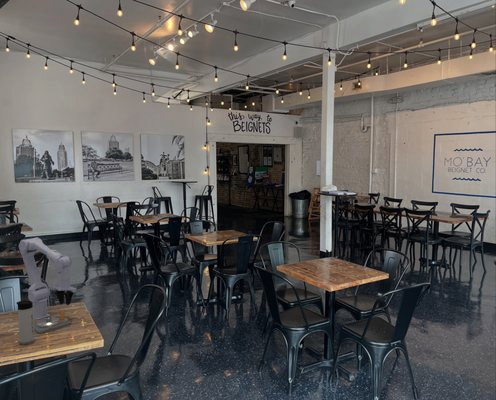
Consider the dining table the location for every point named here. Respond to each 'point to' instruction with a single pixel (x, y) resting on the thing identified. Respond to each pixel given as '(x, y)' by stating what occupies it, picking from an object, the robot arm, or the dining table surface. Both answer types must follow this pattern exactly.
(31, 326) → the travel mug
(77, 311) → the dining table surface
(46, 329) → the base plate
